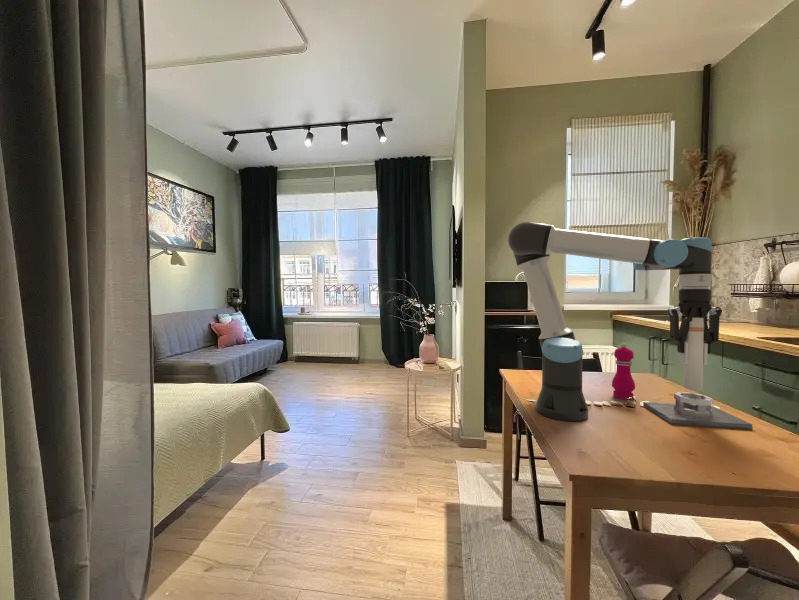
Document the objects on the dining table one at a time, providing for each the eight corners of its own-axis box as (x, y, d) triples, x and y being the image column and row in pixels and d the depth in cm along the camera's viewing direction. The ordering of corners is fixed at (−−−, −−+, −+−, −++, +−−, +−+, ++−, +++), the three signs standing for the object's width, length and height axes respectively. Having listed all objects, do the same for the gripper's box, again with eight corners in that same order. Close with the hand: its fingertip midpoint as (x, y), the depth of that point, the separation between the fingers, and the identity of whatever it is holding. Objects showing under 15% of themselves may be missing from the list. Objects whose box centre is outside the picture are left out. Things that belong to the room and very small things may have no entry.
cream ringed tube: (689, 389, 102) (690, 317, 102) (680, 385, 107) (681, 316, 106) (706, 390, 101) (707, 318, 101) (696, 386, 106) (697, 317, 105)
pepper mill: (639, 400, 121) (640, 344, 120) (619, 400, 121) (620, 344, 120) (626, 394, 128) (627, 341, 127) (607, 394, 128) (608, 341, 128)
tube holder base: (671, 424, 98) (671, 402, 98) (643, 406, 114) (643, 387, 114) (752, 429, 94) (752, 406, 94) (711, 410, 110) (711, 390, 110)
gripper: (669, 288, 102) (668, 365, 102) (737, 288, 98) (735, 367, 99) (656, 288, 109) (655, 360, 109) (718, 288, 106) (717, 362, 106)
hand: (693, 363), depth 104 cm, fingers closed on cream ringed tube, 4 cm apart
